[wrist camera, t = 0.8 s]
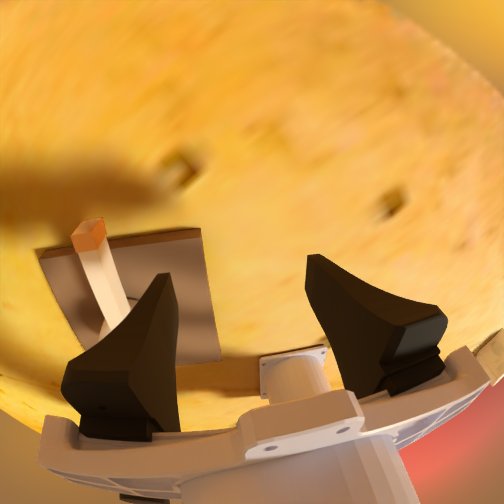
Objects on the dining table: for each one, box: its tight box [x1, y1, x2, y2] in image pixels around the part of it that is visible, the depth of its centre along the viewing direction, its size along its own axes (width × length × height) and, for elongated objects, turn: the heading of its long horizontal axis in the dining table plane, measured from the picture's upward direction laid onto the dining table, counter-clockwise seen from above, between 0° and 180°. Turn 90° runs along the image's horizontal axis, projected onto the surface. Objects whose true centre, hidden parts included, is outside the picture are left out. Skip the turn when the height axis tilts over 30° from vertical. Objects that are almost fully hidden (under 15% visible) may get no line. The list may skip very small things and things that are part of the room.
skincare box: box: [476, 328, 504, 386], centre depth 45 cm, size 10×6×10 cm, turn 121°
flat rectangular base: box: [39, 228, 222, 365], centre depth 23 cm, size 14×14×2 cm
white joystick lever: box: [70, 218, 138, 341], centre depth 19 cm, size 12×5×3 cm, turn 2°
